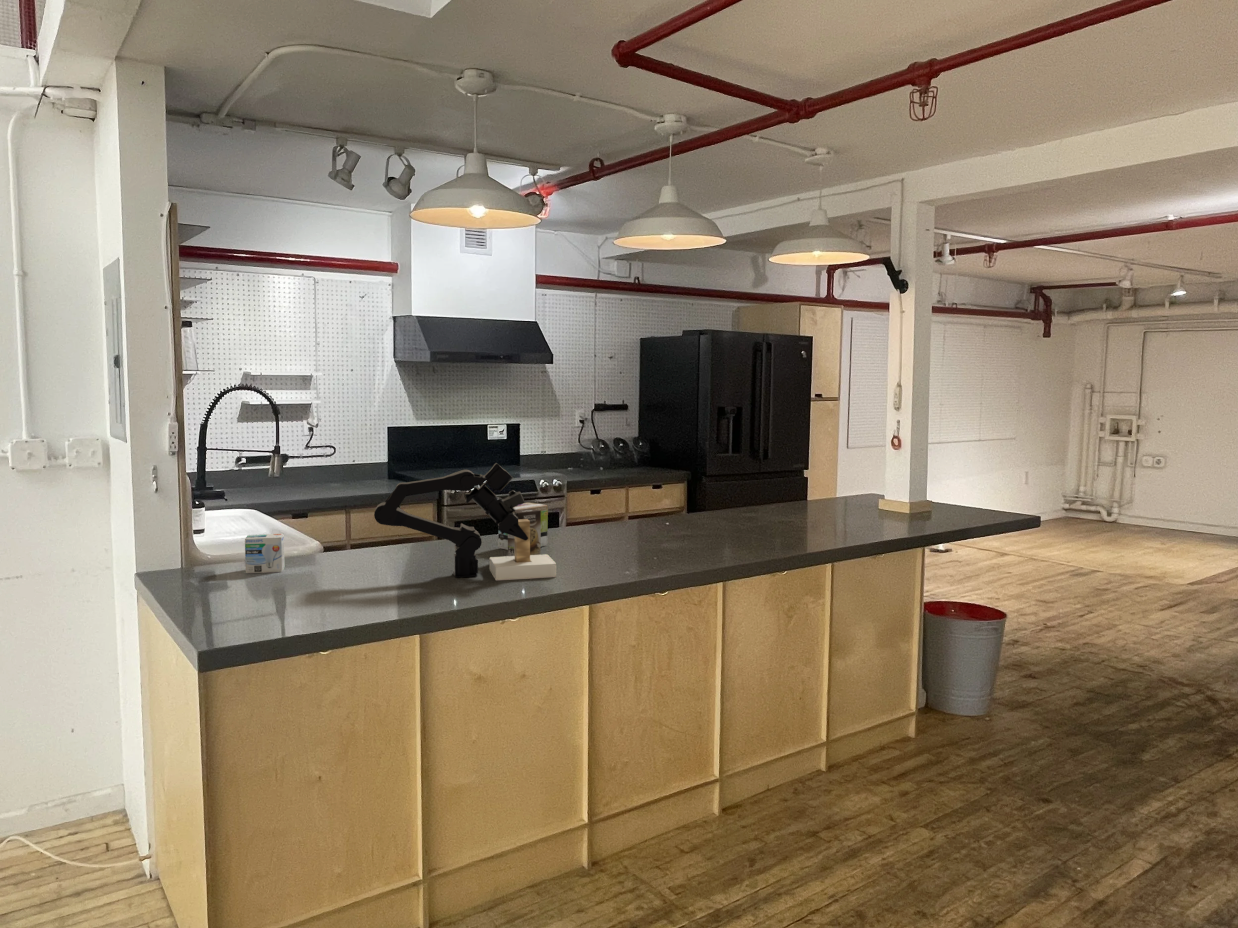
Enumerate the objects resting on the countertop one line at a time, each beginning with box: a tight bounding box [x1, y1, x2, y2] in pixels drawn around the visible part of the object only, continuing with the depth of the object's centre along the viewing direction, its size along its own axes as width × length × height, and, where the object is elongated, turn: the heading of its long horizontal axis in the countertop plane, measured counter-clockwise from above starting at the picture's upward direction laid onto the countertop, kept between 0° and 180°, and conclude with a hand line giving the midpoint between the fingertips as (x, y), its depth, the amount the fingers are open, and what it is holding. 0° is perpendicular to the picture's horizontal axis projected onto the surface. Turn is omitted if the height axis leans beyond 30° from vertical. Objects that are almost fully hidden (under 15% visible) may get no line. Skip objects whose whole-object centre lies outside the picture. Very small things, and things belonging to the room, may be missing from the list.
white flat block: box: [489, 553, 557, 581], centre depth 268 cm, size 18×14×4 cm
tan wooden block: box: [515, 519, 530, 563], centre depth 267 cm, size 4×4×12 cm
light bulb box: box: [244, 533, 286, 574], centre depth 269 cm, size 11×7×11 cm, turn 106°
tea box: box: [497, 502, 549, 551], centre depth 308 cm, size 15×10×15 cm, turn 143°
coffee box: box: [507, 509, 542, 556], centre depth 288 cm, size 9×6×16 cm
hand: (526, 537), depth 267 cm, fingers closed on tan wooden block, 4 cm apart
